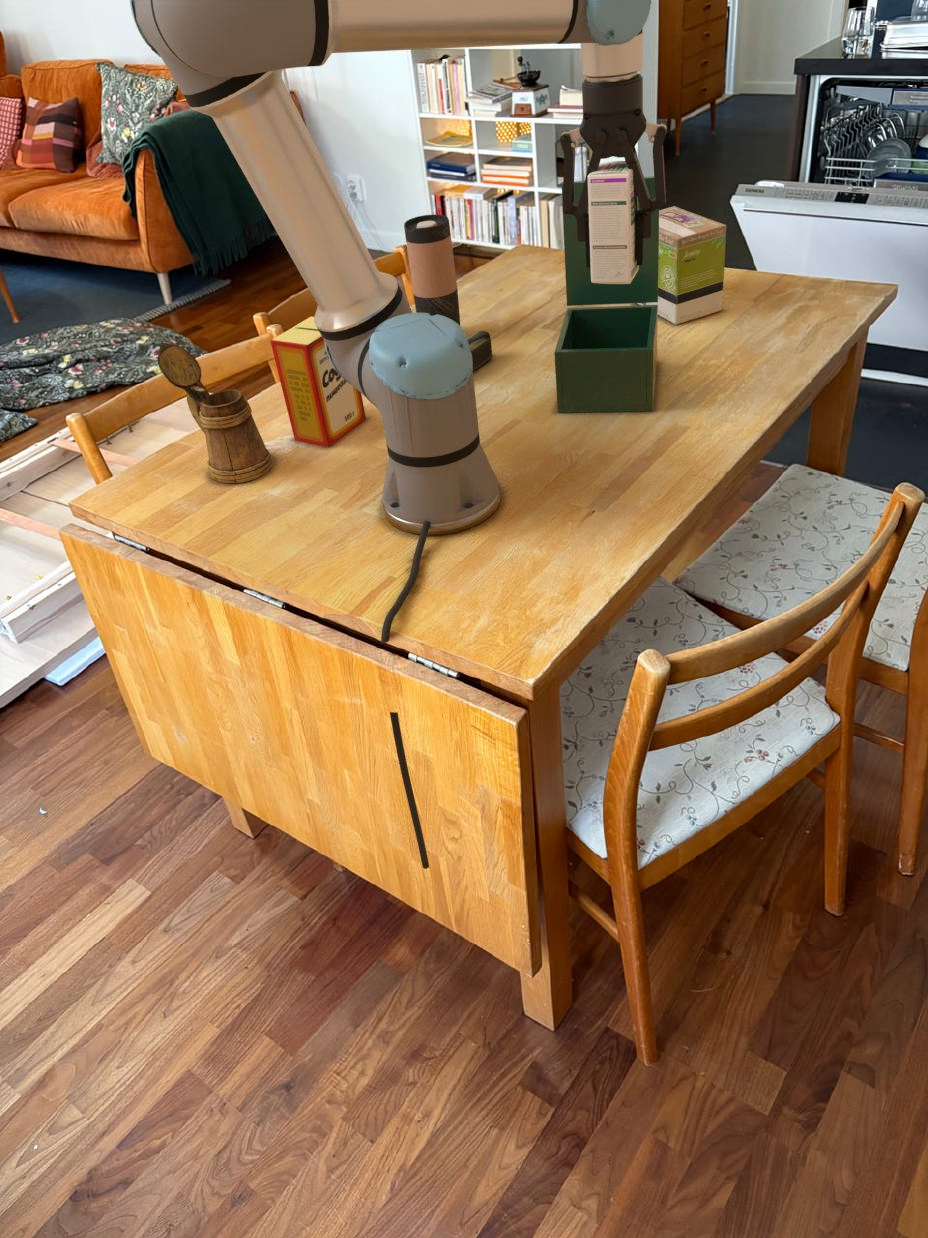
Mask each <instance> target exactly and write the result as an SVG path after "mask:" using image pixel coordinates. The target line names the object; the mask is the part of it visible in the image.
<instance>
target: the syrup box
mask: <svg viewBox="0 0 928 1238" xmlns="http://www.w3.org/2000/svg"><path fill="white" fill-rule="evenodd" d="M587 177H588V204H589V236H590V265H591V282H592V283H600V284H631V281H632V280H633V278H634V277H635V275H636V273H637V272H638V270H639V265H637V213H638V210H639V200H638V196H637V193H636V190H635V187H634V184H633V170H632V169H628V166H627V164H626V161H625V160H613V161H612V160H611V161H605V162H600V164H599V167H598V170H597V171H595V172H592V173H590V174H589V175H588V176H587Z"/></svg>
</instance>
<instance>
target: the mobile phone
mask: <svg viewBox="0 0 928 1238" xmlns="http://www.w3.org/2000/svg"><path fill="white" fill-rule="evenodd" d="M467 339H468V344H469V348H470V352H471V353H472V361H473V369H472V370H473V372H474V371H475V370H477V369H479V368H480V367H482V366H483V365H485V364H486V363H488V362H490V360H491V359H492V358H493V348H492V347H493V346H492V338H491V334H490V332H488V331H486V330H480V331H478V332H476V333H475V334H473V335H471V336H469V337H467Z"/></svg>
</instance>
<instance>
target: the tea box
mask: <svg viewBox="0 0 928 1238" xmlns="http://www.w3.org/2000/svg"><path fill="white" fill-rule="evenodd" d="M726 240H727V224H724V223H721V222H718V221H716V220H713V219H711V218H708V217H705V216H702V215H700V214H696V213H694V212H691V211H689V210H686V209H683V208H680V207H678V206H676V205H673V206H669V207H666V208H662V209H659V263H658V302H654V303H636V304H637V305H658V316H660V317H661V318H663V319H665V320H667V321H668V322H670V323H672V324H673V325H675V326H676V325H680V324H683V323H686V322H689V321H693V320H696V319H700V318H703V317H705V316H709V315H712V314H714V313H718V312H721V311H722V310H723V299H724V281H725V280H724V279H725V262H726V261H725V260H726V245H727V244H726V243H727V241H726Z"/></svg>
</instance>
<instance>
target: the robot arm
mask: <svg viewBox="0 0 928 1238" xmlns="http://www.w3.org/2000/svg"><path fill="white" fill-rule="evenodd" d="M651 4H652V0H129V7H130V11H131V15H132V18H133V21H134V24H135V26H136V29H137V31H138V33H139V34H140V36H141V38H142V40H143V42H144V43H145V45H147V46H148V47H149V48H150V50H151V51H152V52H154V53H155V55H157V56H158V57H159V58H161V60H162V62H163V63H164V65H165V66H166V68H167V71H169V74H170V75H171V77H172V79H173V81H174V82H175V84H176V85H177V87H178V89H179V90H180V93H181V94H182V96H183V97H184V99H185V101H186V102H187V105H188V106H189V108H190V109H191V110H192V111H195V112H198V113H199V114H203V115H206V116H209V117H210V118H212V120H213V122H214V123H215V125H216V127H217V129H218V130H219V132H220V135H222V138H223V139H224V141H225V143H226V144H227V146H228V149H229V150H230V152H231V154H232V155H233V157H234V159H235V160H236V162H237V164H238V166H239V168H240V169H241V171H242V174H243V175H244V177H245V179H246V181H247V182H248V184H249V185H250V187H251V189H252V191H253V193H254V194H255V196H256V198H257V199H258V201H259V203H260V205H261V207H262V209H263V210H264V212H265V213H266V215H267V217H268V219H269V221H270V222H271V224H272V226H273V228H274V230H275V232H276V234H277V235H278V237H279V239H280V240H281V242H282V243H283V245H284V247H285V249H286V251H287V252H288V255H289V256H290V258H291V260H292V262H293V264H294V265H295V267H296V268H297V270H298V272H299V274H300V275H301V278H302V279H303V281H304V283H305V284H306V286H307V288H308V290H309V292H310V294H311V295H312V297H313V299H314V301H315V302H316V305H317V307H316V310H315V313H314V316H315V317H314V323H315V325H316V327H317V328H318V330H319V332H320V334H321V335H322V337H323V339H324V342H325V348H326V352H327V354H328V357H329V359H330V361H331V363H332V365H333V367H334V368H335V370H336V371H337V372H338V374H339V375H340V376H341V377H342V378H343V379H344V380H345V381H347V382H348V383H349V384H351V385H353V386H354V387H355V388H356V389H357V390H358V391H359V392H361V395H363V396H364V397H365V398H366V399H367V400H368V401H369V402H370V403H371V404H372V405H373V406H374V407H375V408H376V409H377V410H378V411H379V413H380V416H381V417H380V418H381V423H382V427H383V433H384V439H385V444H386V451H387V456H388V460H387V465H386V471H385V477H384V483H383V489H382V499H381V502H382V507H383V513H384V517H385V518H386V520H387V521H388V522H389V523H390V524H391V525H392V526H394V527H395V528H397V529H399V530H401V531H404V532H407V533H411V534H416V535H419V536H418V539H417V543H416V546H415V550H414V554H413V558H412V563H411V568H410V573H409V575H408V579H407V581H406V583H405V585H404V587H403V589H402V590H401V591H400V592H399V593H400V594H399V595H398V596H397V598H396V600H395V602H394V603H393V605H392V607H391V608H390V609H389V611H388V612H387V613H386V616H385V618H384V621H383V625H382V629H381V637H380V638H381V639H380V641H381V643H382V644H386V643H388V642H389V640H390V637H391V636H390V635H391V628H392V626H393V625H392V624H393V621H394V620H395V617H396V616H397V614H398V613H399V611H400V610H401V608H402V607H403V605H404V603H405V601H406V600H407V598H408V596H409V594H410V593H411V591H412V590H413V588H414V586H415V584H416V581H417V578H418V574H419V572H420V571H419V570H420V563H421V559H422V555H423V551H424V548H425V545H426V541H427V538H428V535H429V536H434V535H446V534H453V533H457V532H461V531H464V530H467V529H470V528H473V527H475V526H477V525H479V524H480V523H482V522H484V521H485V520H487V519H488V518H489V517H491V516H492V515H493V514H494V513H495V512H496V510H497V509H498V507H499V505H500V503H501V491H500V490H501V489H500V483H499V480H498V478H497V475H496V473H495V471H494V469H493V467H492V464H491V463H490V461H489V459H488V456H487V454H486V453H485V450H484V449H483V446H482V443H481V438H480V431H479V430H480V429H479V417H478V410H477V398H476V391H475V390H476V389H475V381H474V371H473V370H472V369H473V361H472V353H471V352H470V348H469V344H468V339H467V338H468V336H467V333H466V332H465V330H464V328H462V327H460V326H461V324H460V325H459V324H457V323H456V322H455V321H453V320H451V319H449V318H447V317H445V316H442V315H438V314H437V315H434V316H431V315H430V314H429V313H416V312H413V310H412V309H411V306H410V304H409V302H408V301H407V298H406V297H405V294H404V292H403V290H402V288H401V286H400V284H399V283H398V280H397V279H396V277H395V276H394V275H392V274H390V273H386V272H383V271H379V270H378V268H377V265H376V264H375V262H374V260H373V257H372V255H371V254H370V252H369V250H368V247H367V246H366V244H365V242H364V239H363V238H362V236H361V234H360V232H359V230H358V228H357V226H356V224H355V222H354V220H353V218H352V215H351V213H350V211H349V210H348V208H347V206H346V204H345V202H344V200H343V198H342V195H341V194H340V191H339V190H338V187H337V186H336V184H335V182H334V180H333V178H332V176H331V174H330V172H329V169H328V168H327V165H326V164H325V162H324V160H323V158H322V156H321V153H320V152H319V150H318V148H317V145H316V144H315V142H314V140H313V138H312V135H311V134H310V132H309V129H308V128H307V126H306V124H305V122H304V120H303V118H302V116H301V114H300V112H299V110H298V108H297V106H296V104H295V102H294V100H293V98H292V95H291V93H290V92H289V90H288V87H287V86H286V83H285V82H284V79H283V70H286V69H296V68H307V67H310V68H311V67H323V65H325V64H326V63H327V61H328V60H329V58H330V57H331V55H332V54H345V53H346V54H347V53H366V52H369V53H370V52H371V53H372V52H390V51H392V52H395V51H414V50H415V51H417V50H438V49H458V48H459V49H463V48H485V47H508V46H530V45H532V46H533V45H555V44H557V45H567V44H568V45H570V44H571V45H572V44H580V64H581V65H580V66H581V67H580V68H581V75H582V76H583V77H585V79H584V80H583V82H582V83H581V96H582V97H581V98H582V100H581V101H582V119H581V123H580V125H579V127H577V128H574V129H572V130H567V129H566V130H564V131H563V132H562V133H561V135H560V137H559V142H560V145H561V149H562V152H563V207H562V213H563V212H564V213H565V214H571V215H574V216H575V217H576V219H577V238H578V241H579V242H586V268H591V265H590V236H589V213H587V211H586V210H587V207H588V177H587V176H588V175H589V174H590V173H592V172H595V171H597V170H598V167H599V164H600V163H601V161H602V159H603V160H604V159H605V160H606V159H609V158H612V157H614V158H618V159H620V158H624V161H626V164H627V166H628V169H632V170H633V184H634V187H635V190H636V193H637V196H638V200H639V203H640V206H641V209H642V210H638V213H637V265H643V258H644V238H650V237H651V234H652V213H653V212H654V211H655V210H657V209H659V210H663V209H664V208H665V206H666V202H667V191H666V173H665V158H664V157H665V156H664V142H665V138H666V134H667V128H668V127H667V124H666V123H664V122H660V123H659V124H658V123H654V122H649V121H647V118H646V115H645V114H644V97H643V96H644V89H643V88H644V77H643V76H642V74H640V73H639V72H640V71H641V70H642V69H643V68H644V67H643V66H644V32H643V29H644V26H645V25H646V23H647V21H648V18H649V16H650V12H651V6H652V5H651ZM644 133H645V134H647V139H648V142H649V143H651V144H652V165H653V166H652V167H653V176H654V181H655V196H656V197H655V198H653V199H651V198H650V195H649V192H648V188H647V185H646V182H645V179H644V177H645V176H644V173H643V170H642V167H641V163H640V161H639V156H638V152H637V149H636V145H637V144H638V143H639V140H640V139H641V137H642V136H643V134H644ZM580 138H582V139H583V140H584V142H585V143H586V145H587V146H588V147H589V148H590V150H591V156H590V160H589V165H588V168H587V172H586V175H585V180H584V181H585V182H584V186H583V190H582V194H581V197H580V201H579V204H578V203H574V182H575V176H576V175H575V174H576V173H575V172H576V171H575V170H576V149H577V148H578V147H579V143H580V141H579V140H580ZM389 715H390V716H389V717H390V722H391V728H392V733H393V739H394V745H395V749H396V754H397V760H398V764H399V765H398V766H399V769H400V774H401V779H402V782H403V786H404V791H405V796H406V800H407V804H408V808H409V812H410V816H411V817H410V818H411V821H412V825H413V830H414V833H415V839H416V842H417V847H418V852H419V857H420V860H421V866H422V868H423V869H424V870H427V869H429V868H430V863H429V858H428V854H427V848H426V844H425V840H424V834H423V830H422V825H421V820H420V816H419V813H418V812H419V811H418V807H417V803H416V799H415V798H416V797H415V794H414V790H413V786H412V781H411V776H410V771H409V768H408V762H407V757H406V752H405V748H404V741H403V736H402V730H401V724H400V718H399V712H397V711H395V712H393V711H389Z"/></svg>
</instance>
